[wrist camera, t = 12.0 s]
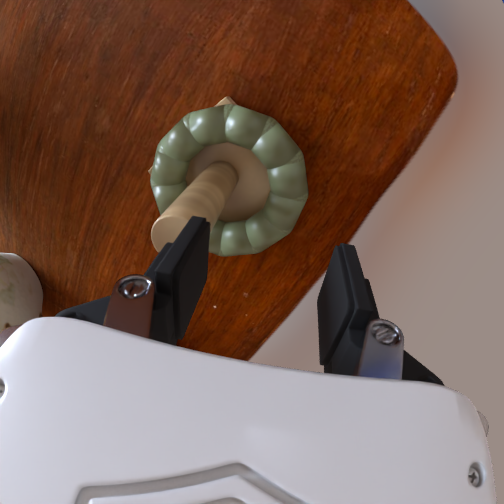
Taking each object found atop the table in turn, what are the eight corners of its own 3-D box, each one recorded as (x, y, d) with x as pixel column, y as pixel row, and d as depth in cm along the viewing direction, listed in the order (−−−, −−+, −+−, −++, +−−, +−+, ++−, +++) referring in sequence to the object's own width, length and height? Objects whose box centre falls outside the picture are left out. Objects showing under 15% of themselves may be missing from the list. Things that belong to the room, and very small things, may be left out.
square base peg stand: (229, 95, 18) (173, 106, 10) (302, 182, 21) (307, 259, 12) (153, 167, 21) (74, 226, 13) (221, 240, 24) (182, 330, 16)
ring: (236, 73, 16) (228, 71, 14) (336, 192, 20) (340, 206, 18) (135, 172, 21) (119, 183, 19) (226, 267, 24) (219, 285, 22)
